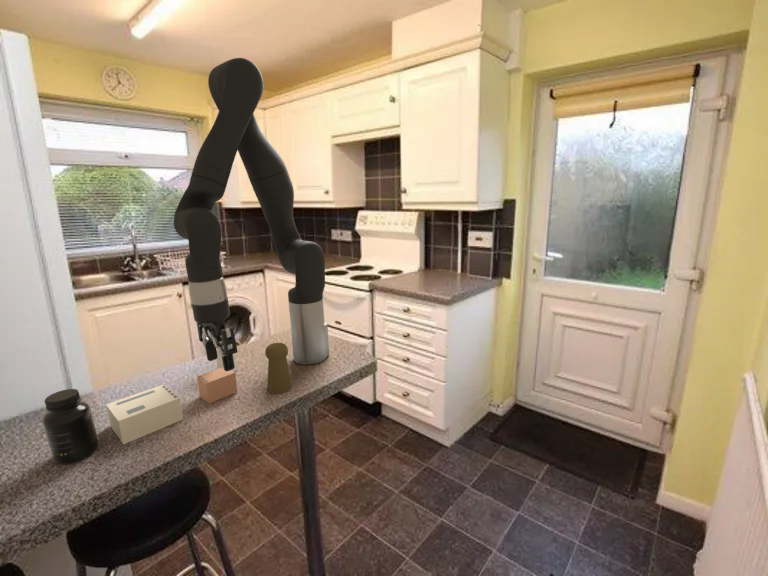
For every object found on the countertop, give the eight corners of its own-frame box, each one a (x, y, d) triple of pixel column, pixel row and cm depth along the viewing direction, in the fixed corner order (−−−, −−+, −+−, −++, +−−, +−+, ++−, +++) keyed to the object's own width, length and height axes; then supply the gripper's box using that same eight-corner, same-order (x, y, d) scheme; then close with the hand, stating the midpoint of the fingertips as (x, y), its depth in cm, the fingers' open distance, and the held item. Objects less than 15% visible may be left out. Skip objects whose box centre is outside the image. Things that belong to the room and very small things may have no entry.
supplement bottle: (70, 443, 76) (55, 386, 73) (107, 440, 77) (94, 384, 74) (43, 467, 70) (26, 406, 67) (84, 464, 70) (69, 403, 67)
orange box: (227, 385, 97) (225, 366, 96) (237, 391, 94) (235, 372, 93) (199, 396, 92) (196, 376, 91) (209, 403, 89) (206, 383, 88)
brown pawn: (286, 394, 92) (282, 350, 90) (262, 392, 94) (257, 348, 91) (296, 382, 98) (293, 340, 95) (274, 380, 99) (270, 339, 97)
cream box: (167, 404, 89) (163, 384, 88) (183, 419, 83) (179, 397, 82) (110, 426, 81) (105, 404, 80) (123, 444, 75) (118, 420, 74)
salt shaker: (222, 376, 102) (217, 336, 99) (212, 370, 105) (207, 331, 103) (242, 369, 106) (237, 330, 103) (231, 363, 109) (226, 326, 107)
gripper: (240, 299, 86) (251, 367, 90) (211, 289, 95) (222, 351, 100) (206, 308, 81) (219, 380, 85) (179, 297, 90) (192, 362, 94)
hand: (220, 364), depth 92 cm, fingers open, 8 cm apart
